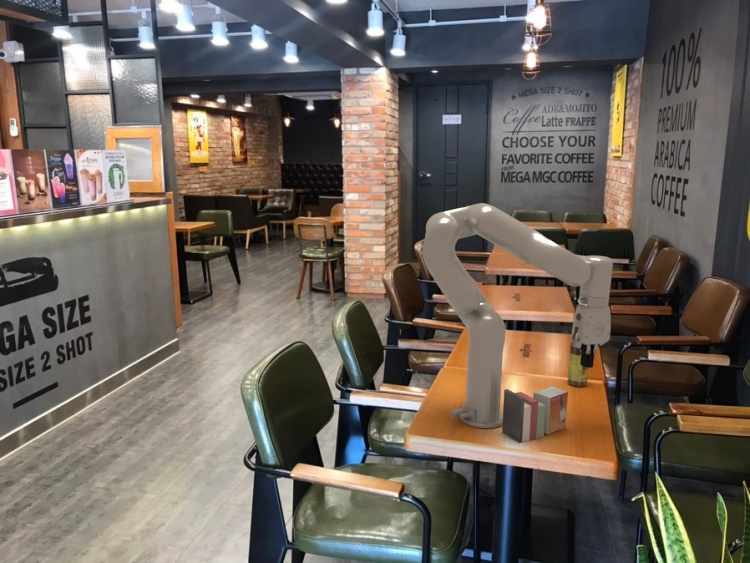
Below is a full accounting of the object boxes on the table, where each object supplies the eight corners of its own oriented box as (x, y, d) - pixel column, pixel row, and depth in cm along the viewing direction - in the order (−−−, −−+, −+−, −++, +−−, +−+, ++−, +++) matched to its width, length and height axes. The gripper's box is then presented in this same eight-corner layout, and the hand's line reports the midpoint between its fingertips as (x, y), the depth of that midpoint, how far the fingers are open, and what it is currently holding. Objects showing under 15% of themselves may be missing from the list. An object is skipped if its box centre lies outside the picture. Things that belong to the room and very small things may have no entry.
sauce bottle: (584, 389, 187) (589, 329, 184) (564, 385, 191) (569, 326, 187) (589, 382, 193) (593, 324, 189) (569, 379, 196) (573, 322, 192)
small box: (547, 435, 154) (550, 398, 152) (530, 428, 158) (532, 391, 157) (566, 427, 159) (568, 391, 157) (549, 420, 163) (551, 385, 161)
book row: (519, 442, 150) (521, 398, 148) (502, 432, 156) (504, 389, 154) (543, 437, 153) (546, 393, 151) (525, 426, 159) (528, 385, 157)
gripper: (583, 306, 151) (576, 373, 154) (624, 302, 157) (616, 367, 161) (562, 300, 158) (556, 365, 161) (603, 297, 164) (596, 359, 167)
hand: (586, 366), depth 161 cm, fingers closed
